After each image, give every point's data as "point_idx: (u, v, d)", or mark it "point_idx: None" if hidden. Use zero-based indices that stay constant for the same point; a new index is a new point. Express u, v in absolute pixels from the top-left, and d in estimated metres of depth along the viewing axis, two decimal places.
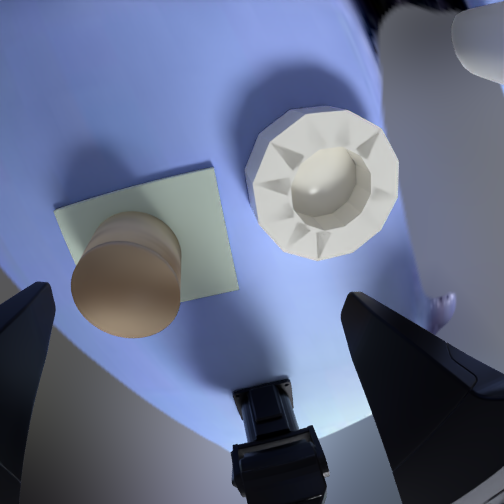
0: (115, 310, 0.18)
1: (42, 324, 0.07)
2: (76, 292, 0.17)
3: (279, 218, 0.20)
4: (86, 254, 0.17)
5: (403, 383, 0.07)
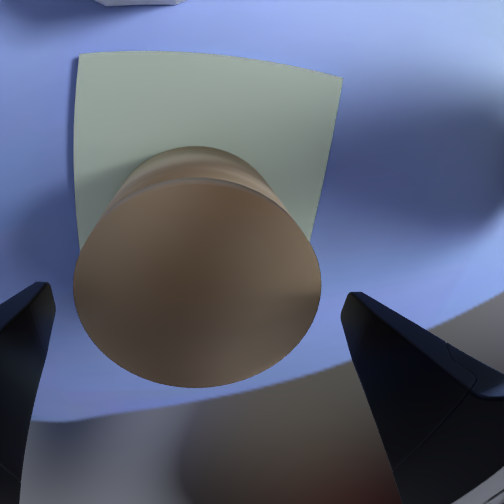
0: (224, 336, 0.09)
1: (42, 324, 0.07)
2: (163, 378, 0.10)
3: None
4: None
5: (403, 383, 0.07)
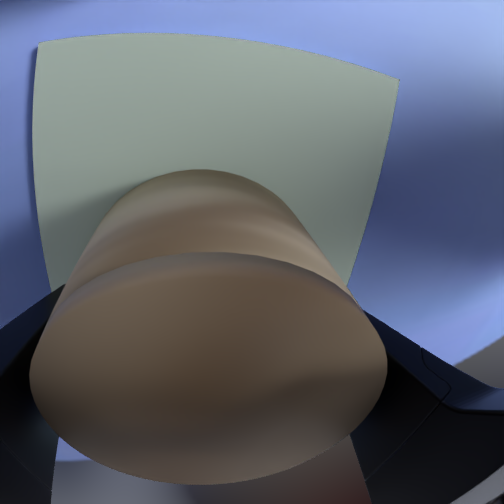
0: (249, 447, 0.06)
1: None
2: (168, 479, 0.06)
3: None
4: None
5: None
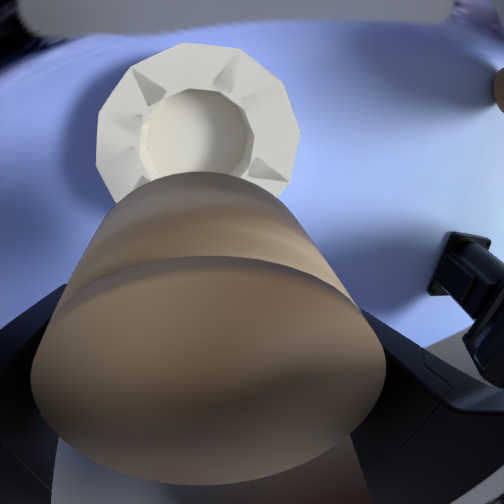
0: (248, 448, 0.06)
1: None
2: (168, 479, 0.07)
3: None
4: None
5: None
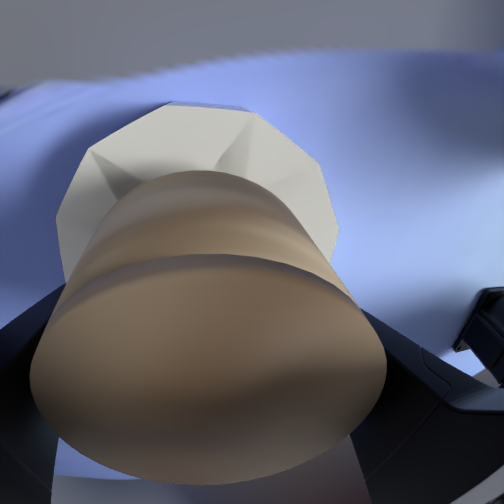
0: (248, 448, 0.06)
1: None
2: (168, 479, 0.07)
3: None
4: None
5: None
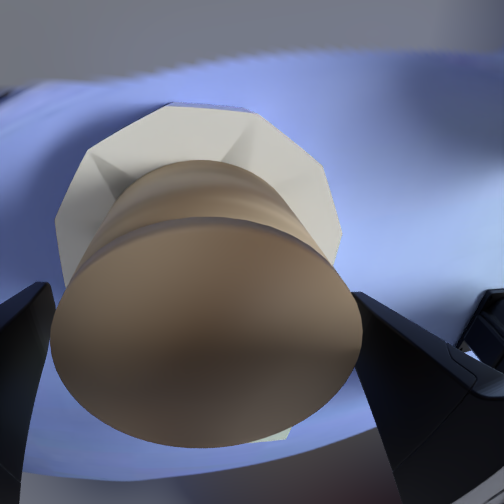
0: (242, 403, 0.07)
1: (42, 324, 0.07)
2: (168, 440, 0.08)
3: None
4: None
5: (403, 383, 0.07)
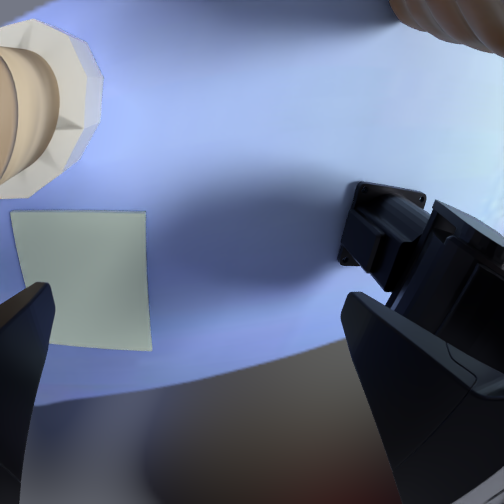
0: None
1: (42, 324, 0.07)
2: None
3: (24, 175, 0.13)
4: None
5: (403, 383, 0.07)
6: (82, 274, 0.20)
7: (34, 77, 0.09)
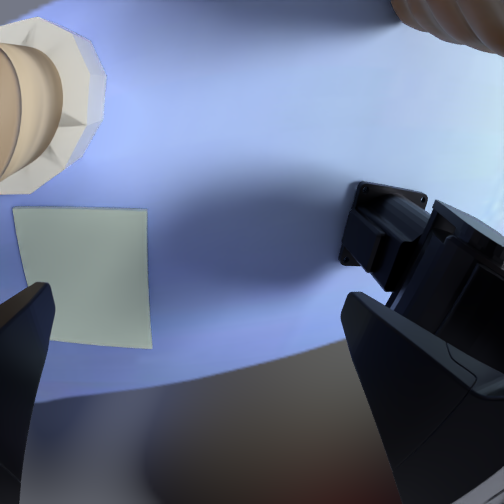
0: None
1: (42, 324, 0.07)
2: None
3: (26, 171, 0.14)
4: None
5: (403, 382, 0.07)
6: (83, 271, 0.20)
7: (37, 74, 0.10)
